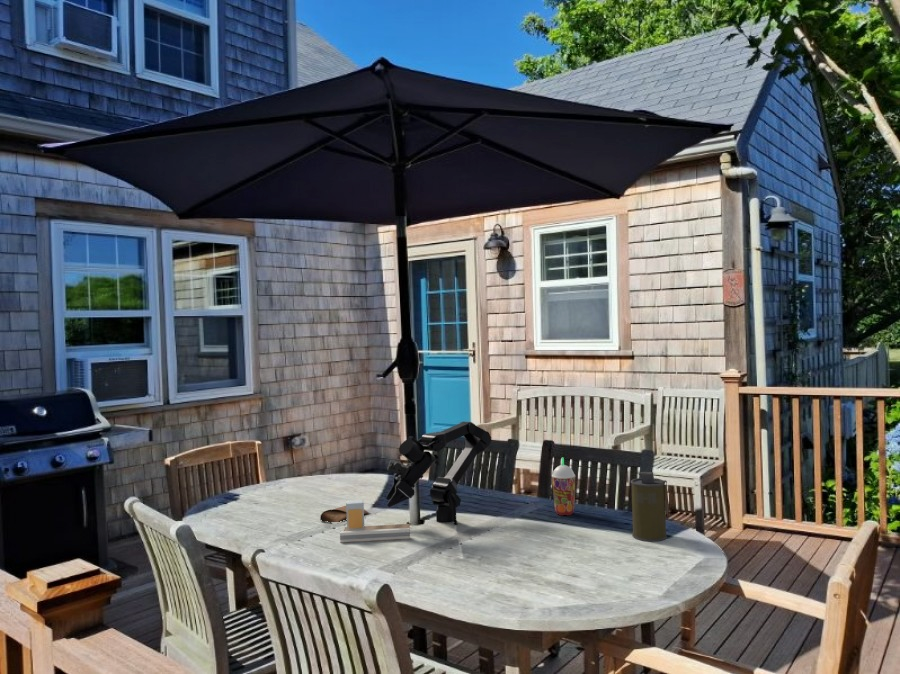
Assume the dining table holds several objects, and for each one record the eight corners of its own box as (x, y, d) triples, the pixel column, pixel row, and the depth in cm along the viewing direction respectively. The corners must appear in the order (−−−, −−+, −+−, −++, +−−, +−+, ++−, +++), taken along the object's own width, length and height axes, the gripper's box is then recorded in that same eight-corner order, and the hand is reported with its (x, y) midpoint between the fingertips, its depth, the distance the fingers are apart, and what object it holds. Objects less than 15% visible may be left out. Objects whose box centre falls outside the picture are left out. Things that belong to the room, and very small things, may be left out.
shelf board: (409, 526, 248) (409, 523, 248) (410, 542, 230) (409, 539, 230) (345, 530, 247) (344, 527, 247) (340, 546, 229) (340, 543, 229)
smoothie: (550, 515, 255) (548, 459, 255) (556, 509, 263) (554, 454, 263) (573, 517, 252) (571, 460, 252) (578, 511, 260) (576, 455, 260)
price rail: (409, 537, 233) (409, 527, 232) (409, 538, 231) (409, 529, 231) (340, 540, 231) (340, 531, 231) (340, 542, 230) (339, 533, 229)
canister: (630, 540, 224) (628, 475, 224) (634, 530, 234) (632, 468, 233) (666, 542, 220) (664, 477, 220) (669, 533, 230) (667, 470, 229)
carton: (364, 532, 240) (363, 499, 239) (364, 536, 235) (363, 502, 235) (347, 533, 239) (346, 500, 239) (347, 538, 234) (346, 504, 234)
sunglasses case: (336, 524, 254) (329, 507, 256) (324, 532, 258) (317, 514, 260) (372, 513, 268) (365, 496, 270) (361, 520, 272) (354, 504, 274)
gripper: (398, 446, 251) (368, 480, 250) (402, 457, 233) (369, 494, 232) (422, 467, 253) (392, 501, 252) (428, 479, 234) (395, 516, 233)
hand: (387, 502), depth 242 cm, fingers open, 9 cm apart
